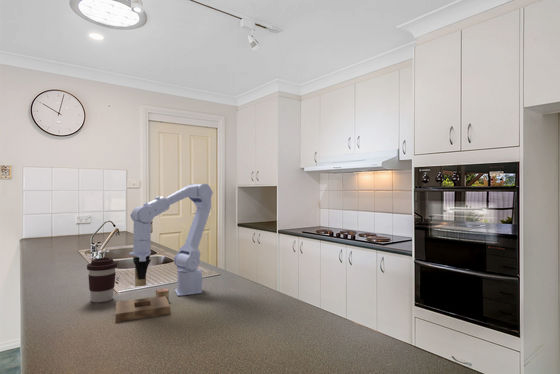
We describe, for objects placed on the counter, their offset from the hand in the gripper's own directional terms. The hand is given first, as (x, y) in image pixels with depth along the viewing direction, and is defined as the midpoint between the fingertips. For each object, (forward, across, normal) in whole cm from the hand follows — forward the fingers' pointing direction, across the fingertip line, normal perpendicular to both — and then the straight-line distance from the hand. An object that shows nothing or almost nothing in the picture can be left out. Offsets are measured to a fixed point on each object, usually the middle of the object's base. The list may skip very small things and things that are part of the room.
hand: (141, 277), depth 116 cm
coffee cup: (+10, -11, -13) cm, 20 cm away
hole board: (+10, +8, 0) cm, 12 cm away
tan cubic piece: (+10, 0, +7) cm, 12 cm away
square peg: (+2, 0, 0) cm, 3 cm away
